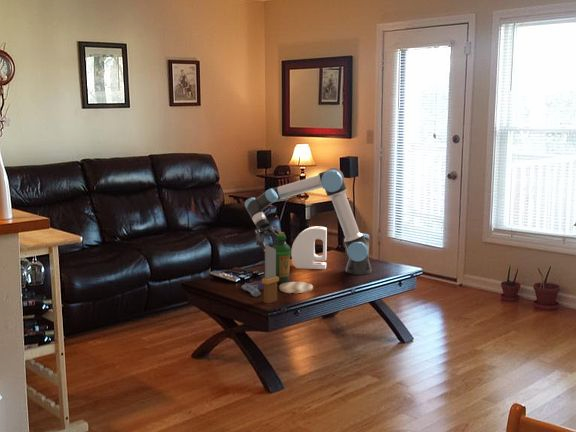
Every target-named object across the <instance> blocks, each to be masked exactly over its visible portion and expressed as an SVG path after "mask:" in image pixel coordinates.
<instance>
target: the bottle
mask: <svg viewBox="0 0 576 432" xmlns="http://www.w3.org/2000/svg"><path fill="white" fill-rule="evenodd" d="M278 233H279V234H278V235H277V238H275V239H276V240H277V243H276V244H273V246H272V248H274V249H276V276H277V277H279V281H277V284H283V283H287V282H290V268H291V267H290V265H291V264H290V263H291V250H292V248H291V246H290V245H289V244H287V243H286V244H285V242H286V240H287V236H286V234H285V232H284V231H280V232H278Z"/></svg>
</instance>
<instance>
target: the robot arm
mask: <svg viewBox="0 0 576 432" xmlns="http://www.w3.org/2000/svg"><path fill="white" fill-rule="evenodd" d="M318 189H323V190H324V191H325V194H326V196H327V197H328V198H329V199H331V202H332V204H333V208H334V211H335V213H336V216H337V218H338V222H339V224H340V226H341V228H342V229H341V230H342V231H343V235H344V237H345V238H344V239H343V242H344V245H345V249H346V254H347V256H348V261H347V262H346V267H345V273H348V274H351V275H358V276H359V275H360V276H361V275H362V276H363V275H369V274H371V273H372V266H371V263H370V259H369V258H370V256H369V255H370V234H368V233H362V232H360V230H359V227H358V224H357V222H356V219H355V216H354V213H353V210H352V208H351V205H350V202H349V199H348V197H347V194H346V192H347V190H348V189H347V186H346V184H345V175H344V173H343V171H342V170H340V168H337V167H331V168H329V169H327V170H325V171H322V172H319V173H318V174H317V175H315V176H314V175H313V176H312V177H308V178H307V177H306V178H304V179H300V180H298V181H293V182H291V183H290V182H289V183H287V184H283V185H280V186H277V187H271V188H269V189H267V190H265V191H264V192H263V193H262V194H260V195H259V196H258V197H252V196H251V197H250V198H248V199H246V200H245V202H244V207H245V209H246V212H247V213H248V215H249V216H250V218H251V220H252V222H253V223H254V226H255V227H256V229H255V230H254V234H255V239H256V240H255V245H256V246H259V247H261V249H262V250H263V252H265V244H266V243H265V242H264V241H265V237H273V238H275V239H276V238H277V235H278V234H279V233H278V232H281V231H280V230H279V229H278V228H277V226H275V225H274V226H273V227H271V224H270V221H269V220H268V219H267V217H266V215H265V213H264V211H263V210H265V209H266V208H267V207H269V206H271V204H273V203H275V202H276V201H280V200H282V199H286V198H291V197H293V196H296V195H301V194H304V193H308V192H311V191H315V190H318ZM285 244H287V242H286V241H285Z"/></svg>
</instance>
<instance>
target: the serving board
mask: <svg viewBox="0 0 576 432" xmlns="http://www.w3.org/2000/svg"><path fill="white" fill-rule="evenodd" d="M313 289H314V286H313V284H311V283H309V282H304V281H288V282H286V283H280V285H279V291H281V292H283V293H287V294H291V293H294V295H297V294H298V293H302V294H306V293H310V292H312V291H313ZM298 295H299V294H298Z"/></svg>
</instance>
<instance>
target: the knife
mask: <svg viewBox="0 0 576 432" xmlns="http://www.w3.org/2000/svg"><path fill="white" fill-rule="evenodd" d="M272 247H273V246H272ZM272 247H271V246H270V245H268V244H266V243H265V251H264V277H263V278H261V281H262V283H264V289H263V303H265V304H271V303H274V302H277V301H278V283H277V281H279V277H277V276H276V249H274V248H272Z"/></svg>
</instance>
